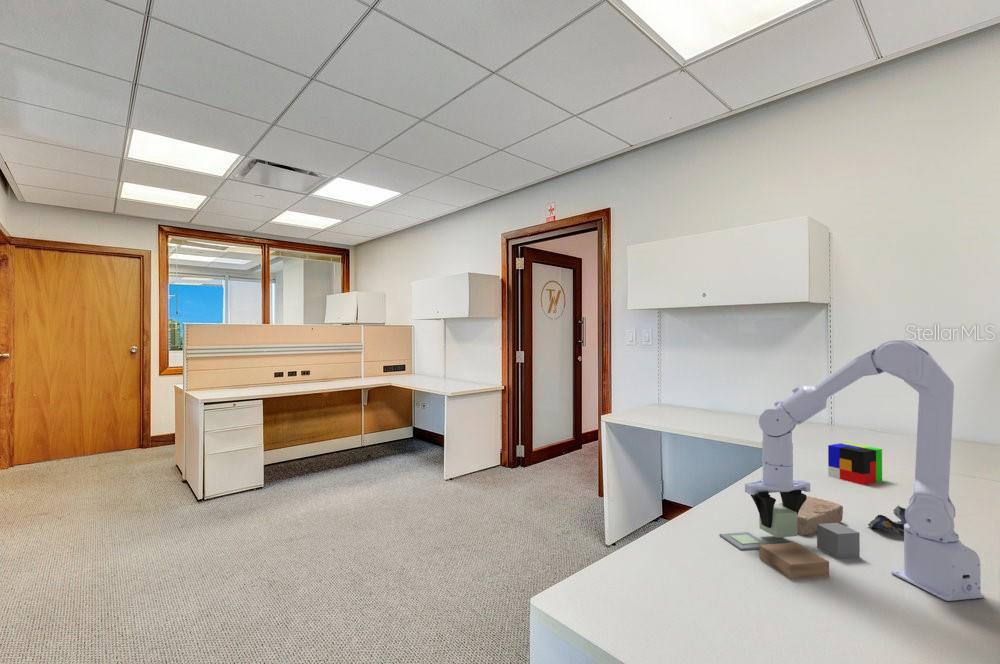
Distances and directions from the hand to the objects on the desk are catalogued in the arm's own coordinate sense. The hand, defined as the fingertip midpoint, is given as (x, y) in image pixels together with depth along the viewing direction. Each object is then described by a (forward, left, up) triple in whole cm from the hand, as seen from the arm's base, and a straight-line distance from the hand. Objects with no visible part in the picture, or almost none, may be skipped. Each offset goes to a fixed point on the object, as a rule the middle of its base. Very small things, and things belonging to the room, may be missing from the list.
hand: (777, 525), depth 100 cm
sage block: (0, 0, -2) cm, 2 cm away
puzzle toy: (+36, -58, -3) cm, 68 cm away
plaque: (0, +8, -3) cm, 9 cm away
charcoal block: (-7, -8, -3) cm, 11 cm away
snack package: (-1, -31, -4) cm, 32 cm away
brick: (+7, -14, -4) cm, 16 cm away
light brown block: (-11, +6, -4) cm, 13 cm away
